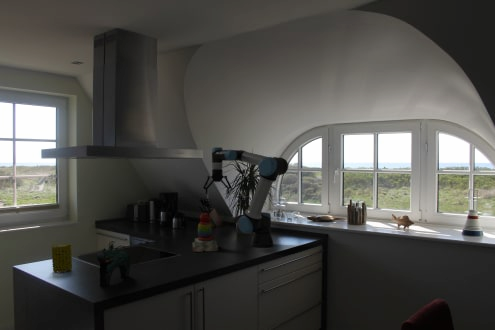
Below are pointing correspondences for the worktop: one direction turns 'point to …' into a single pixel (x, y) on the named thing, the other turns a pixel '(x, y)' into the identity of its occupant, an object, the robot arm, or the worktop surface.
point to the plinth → (206, 248)
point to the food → (61, 258)
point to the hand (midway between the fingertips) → (217, 198)
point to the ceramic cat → (113, 263)
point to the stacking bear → (205, 228)
